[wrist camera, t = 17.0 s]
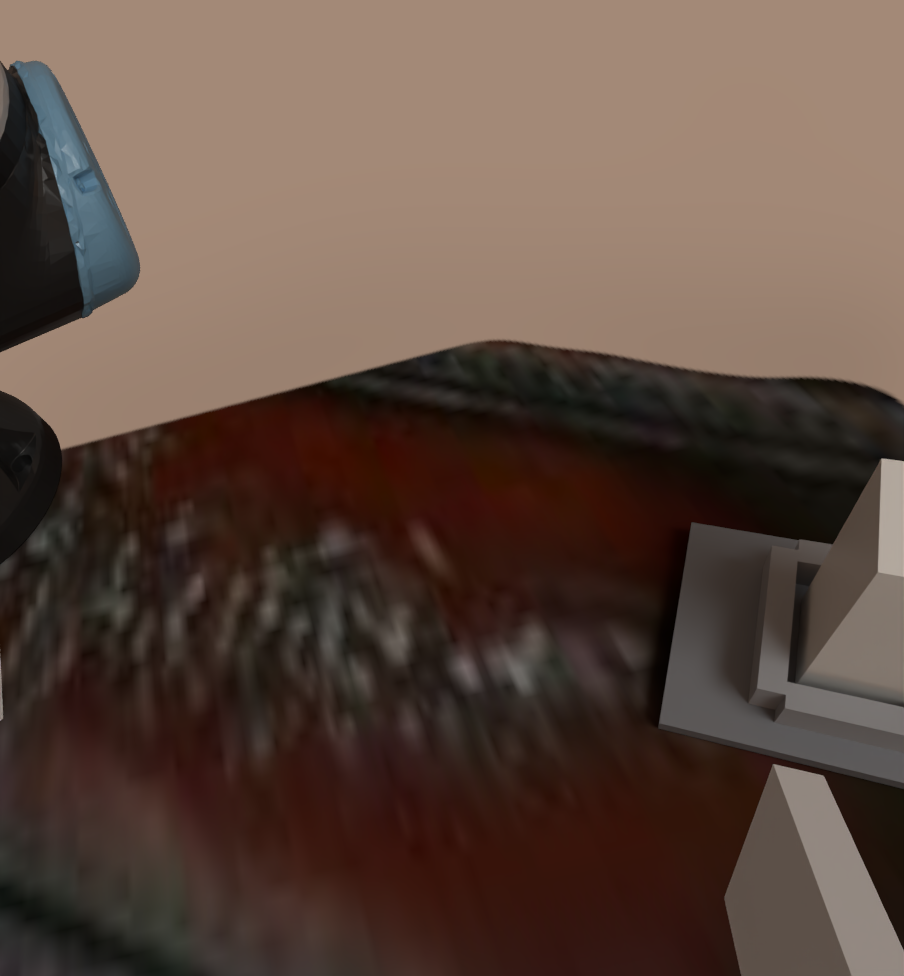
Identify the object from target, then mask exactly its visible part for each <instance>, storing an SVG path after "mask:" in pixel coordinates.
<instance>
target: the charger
mask: <svg viewBox="0 0 904 976" xmlns="http://www.w3.org/2000/svg"><path fill="white" fill-rule="evenodd" d="M795 684H800V685H805V686H809V687H814V688H818V689H823V690H827V691H832V692H836V693H841V694H846V695H850V696H855V697H859V698H864V699H868V700H873V701H878V702H882V703H887V704H891V705H896V706H900V707H904V461H896V460H889V459H881V460H880V462H879V464H878V466H877V467H876V469H875V471H874V473H873V475H872V476H871V478H870V480H869V482H868V483H867V485H866V487H865V489H864V490H863V492H862V494H861V496H860V498H859V499H858V501H857V503H856V505H855V506H854V508H853V510H852V512H851V514H850V515H849V517H848V519H847V521H846V522H845V524H844V526H843V528H842V529H841V531H840V533H839V535H838V537H837V538H836V540H835V542H834V544H833V545H832V547H831V549H830V551H829V552H828V554H827V556H826V558H825V560H824V561H823V563H822V565H821V567H820V568H819V570H818V572H817V574H816V576H815V577H814V579H813V581H812V583H811V584H810V586H809V588H808V590H807V591H806V593H805V595H804V597H803V599H802V602H801V614H800V626H799V639H798V651H797V663H796V675H795Z"/></svg>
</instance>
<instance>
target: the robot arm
mask: <svg viewBox="0 0 904 976" xmlns="http://www.w3.org/2000/svg"><path fill="white" fill-rule="evenodd" d="M139 273H140V263H139V257H138V254H137V252H136V249H135V246H134V244H133V241H132V239H131V236H130V234H129V231H128V229H127V227H126V224H125V222H124V220H123V217H122V215H121V213H120V210H119V208H118V206H117V204H116V201H115V199H114V197H113V195H112V192H111V190H110V188H109V186H108V183H107V181H106V179H105V177H104V175H103V173H102V170H101V168H100V166H99V164H98V162H97V160H96V158H95V155H94V153H93V151H92V149H91V147H90V145H89V143H88V141H87V139H86V137H85V134H84V132H83V130H82V128H81V126H80V124H79V122H78V120H77V118H76V116H75V113H74V112H73V109H72V107H71V105H70V104H69V102H68V99H67V98H66V95H65V93H64V92H63V90H62V88H61V86H60V84H59V82H58V80H57V79H56V77H55V76H54V74H53V73H52V72H51V70H50V69H49V68H48V66H47V65H45V64H43V63H41V62H38V61H31V62H26V63H23V62H21V61H16V62H15V63H13V64H11V65H10V67H9V70H7V69H6V68H5V67H4V65H3V64H2V63H1V61H0V352H2V351H4V350H7V349H9V348H11V347H14V346H16V345H18V344H21V343H23V342H25V341H27V340H30V339H32V338H35V337H37V336H40V335H42V334H44V333H47V332H49V331H51V330H54V329H56V328H58V327H61V326H63V325H65V324H68V323H70V322H72V321H75V320H77V319H79V318H85V317H88V316H89V315H90V314H91V313H92V311H93V310H94V309H96V308H98V307H100V306H102V305H103V304H105V303H108V302H109V301H111V300H113V299H115V298H117V297H119V296H121V295H123V294H124V293H126V292H128V291H129V290H130V289H131V288H132V287H133V286H134V285H135V283H136V282H137V279H138V277H139ZM61 466H62V456H61V449H60V444H59V442H58V439H57V436H56V434H55V433H54V431H53V430H52V428H51V427H50V426H49V425H48V424H47V423H46V422H45V421H44V420H43V419H42V418H41V417H40V416H39V415H38V414H37V413H36V412H35V411H33V410H32V409H31V408H30V407H29V406H28V405H26V404H25V403H24V402H22V401H21V400H19V399H17V398H16V397H14V396H12V395H9V394H7V393H4V392H2V391H0V563H2V562H3V561H4V560H5V559H6V558H8V557H9V556H10V555H11V554H12V553H13V552H14V551H15V550H17V549H18V547H19V546H20V545H21V544H22V543H23V542H24V541H25V540H26V539H27V538H28V537H29V536H30V534H31V533H32V532H33V531H34V529H35V528H36V527H37V525H38V524H39V522H40V521H41V519H42V518H43V516H44V515H45V513H46V511H47V510H48V508H49V506H50V504H51V502H52V500H53V497H54V495H55V492H56V490H57V486H58V483H59V479H60V474H61ZM2 719H3V704H2V682H1V660H0V721H1V720H2ZM724 899H725V904H726V908H727V913H728V917H729V922H730V926H731V931H732V935H733V940H734V944H735V949H736V953H737V958H738V963H739V967H740V972H741V976H904V951H903V948H902V946H901V944H900V942H899V940H898V937H897V935H896V933H895V931H894V929H893V927H892V924H891V922H890V920H889V918H888V916H887V913H886V911H885V909H884V907H883V905H882V902H881V900H880V898H879V896H878V894H877V891H876V889H875V887H874V885H873V883H872V881H871V878H870V876H869V874H868V872H867V870H866V867H865V865H864V863H863V861H862V859H861V856H860V854H859V852H858V850H857V848H856V846H855V843H854V841H853V839H852V837H851V835H850V832H849V830H848V828H847V826H846V824H845V821H844V819H843V817H842V815H841V813H840V810H839V808H838V806H837V804H836V802H835V800H834V797H833V795H832V793H831V791H830V789H829V786H828V784H827V782H826V780H825V778H824V776H822V775H818V774H814V773H809V772H805V771H801V770H796V769H792V768H788V767H783V766H779V765H775V764H773V766H772V769H771V772H770V774H769V777H768V780H767V782H766V785H765V788H764V791H763V793H762V796H761V799H760V802H759V804H758V807H757V810H756V812H755V815H754V818H753V821H752V823H751V826H750V829H749V832H748V834H747V837H746V840H745V842H744V845H743V848H742V851H741V853H740V856H739V859H738V862H737V864H736V867H735V870H734V873H733V875H732V878H731V881H730V883H729V886H728V889H727V892H726V894H725V897H724Z"/></svg>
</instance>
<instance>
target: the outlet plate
mask: <svg viewBox="0 0 904 976" xmlns="http://www.w3.org/2000/svg"><path fill="white" fill-rule="evenodd" d="M831 547H832V545H831V544H825V543H819V542H813V541H807V540H801V539H799V540H793V539H788V538H782V537H776V536H770V535H764V534H758V533H752V532H746V531H740V530H734V529H728V528H722V527H716V526H710V525H704V524H699V523H693V522H692V523H691V528H690V534H689V540H688V546H687V552H686V558H685V565H684V571H683V577H682V583H681V589H680V596H679V602H678V608H677V614H676V620H675V626H674V633H673V639H672V645H671V651H670V657H669V664H668V670H667V676H666V682H665V688H664V694H663V701H662V707H661V713H660V719H659V725H658V728H659V729H663V730H667V731H671V732H675V733H679V734H683V735H687V736H691V737H695V738H699V739H703V740H707V741H711V742H716V743H720V744H724V745H728V746H732V747H736V748H740V749H744V750H748V751H752V752H756V753H760V754H764V755H768V756H772V757H776V758H780V759H784V760H788V761H793V762H797V763H801V764H805V765H809V766H813V767H817V768H821V769H825V770H829V771H833V772H837V773H841V774H845V775H849V776H853V777H857V778H861V779H865V780H869V781H874V782H878V783H882V784H886V785H890V786H894V787H898V788H902V789H904V707H900V706H896V705H891V704H887V703H882V702H878V701H873V700H868V699H864V698H859V697H855V696H850V695H846V694H841V693H836V692H832V691H827V690H823V689H818V688H814V687H809V686H805V685H800V684H795V675H796V663H797V651H798V639H799V626H800V614H801V602H802V599H803V597H804V595H805V593H806V591H807V590H808V588H809V586H810V584H811V583H812V581H813V579H814V577H815V576H816V574H817V572H818V570H819V568H820V567H821V565H822V563H823V561H824V560H825V558H826V556H827V554H828V552H829V551H830V549H831Z"/></svg>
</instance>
